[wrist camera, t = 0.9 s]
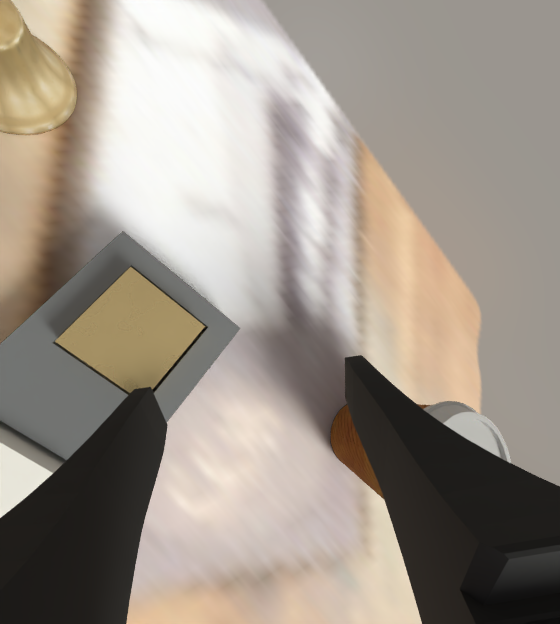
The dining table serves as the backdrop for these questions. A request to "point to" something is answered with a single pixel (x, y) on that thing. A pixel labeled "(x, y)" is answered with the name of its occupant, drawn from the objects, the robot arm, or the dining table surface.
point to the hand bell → (31, 79)
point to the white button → (22, 466)
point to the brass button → (132, 333)
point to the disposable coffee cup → (446, 412)
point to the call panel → (82, 377)
